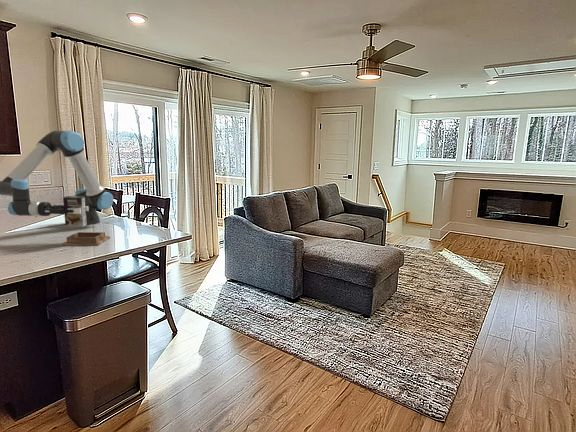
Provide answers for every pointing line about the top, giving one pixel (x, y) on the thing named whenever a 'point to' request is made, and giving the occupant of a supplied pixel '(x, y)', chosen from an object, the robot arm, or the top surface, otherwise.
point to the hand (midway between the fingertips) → (84, 209)
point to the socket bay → (87, 238)
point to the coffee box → (75, 219)
